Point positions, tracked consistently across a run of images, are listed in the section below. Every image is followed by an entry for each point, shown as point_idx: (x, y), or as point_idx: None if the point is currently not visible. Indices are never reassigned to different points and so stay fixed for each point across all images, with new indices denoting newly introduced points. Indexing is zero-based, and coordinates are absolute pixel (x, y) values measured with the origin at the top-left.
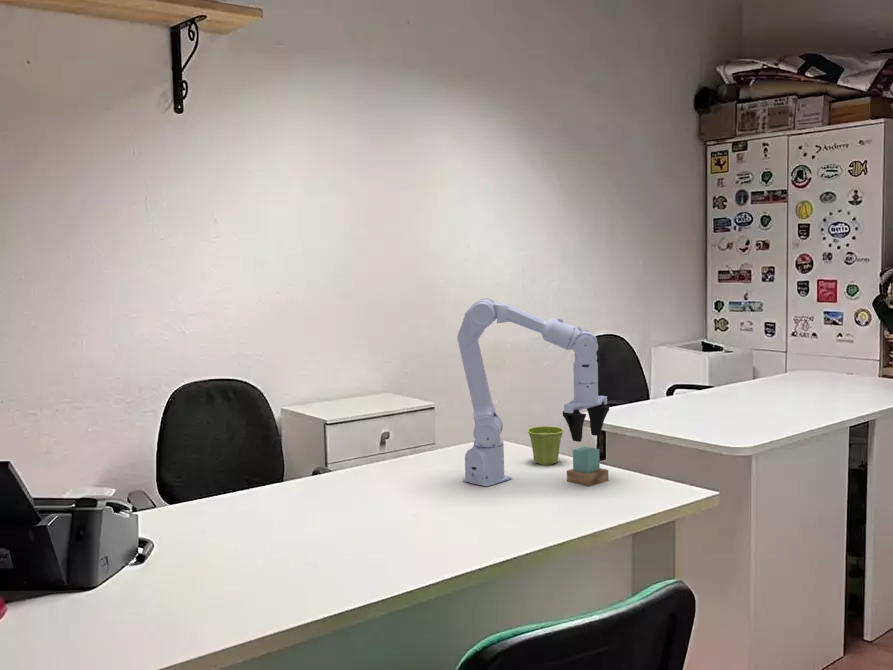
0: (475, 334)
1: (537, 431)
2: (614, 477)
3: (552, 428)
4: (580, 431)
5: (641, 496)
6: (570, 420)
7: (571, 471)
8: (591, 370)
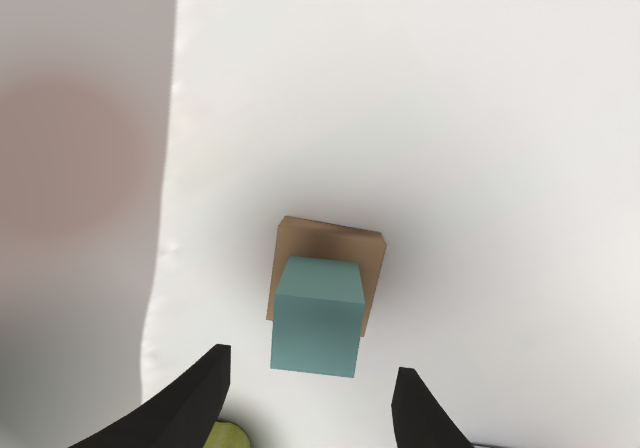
0: None
1: None
2: (240, 218)
3: None
4: (446, 416)
5: (406, 10)
6: None
7: (365, 320)
8: None
